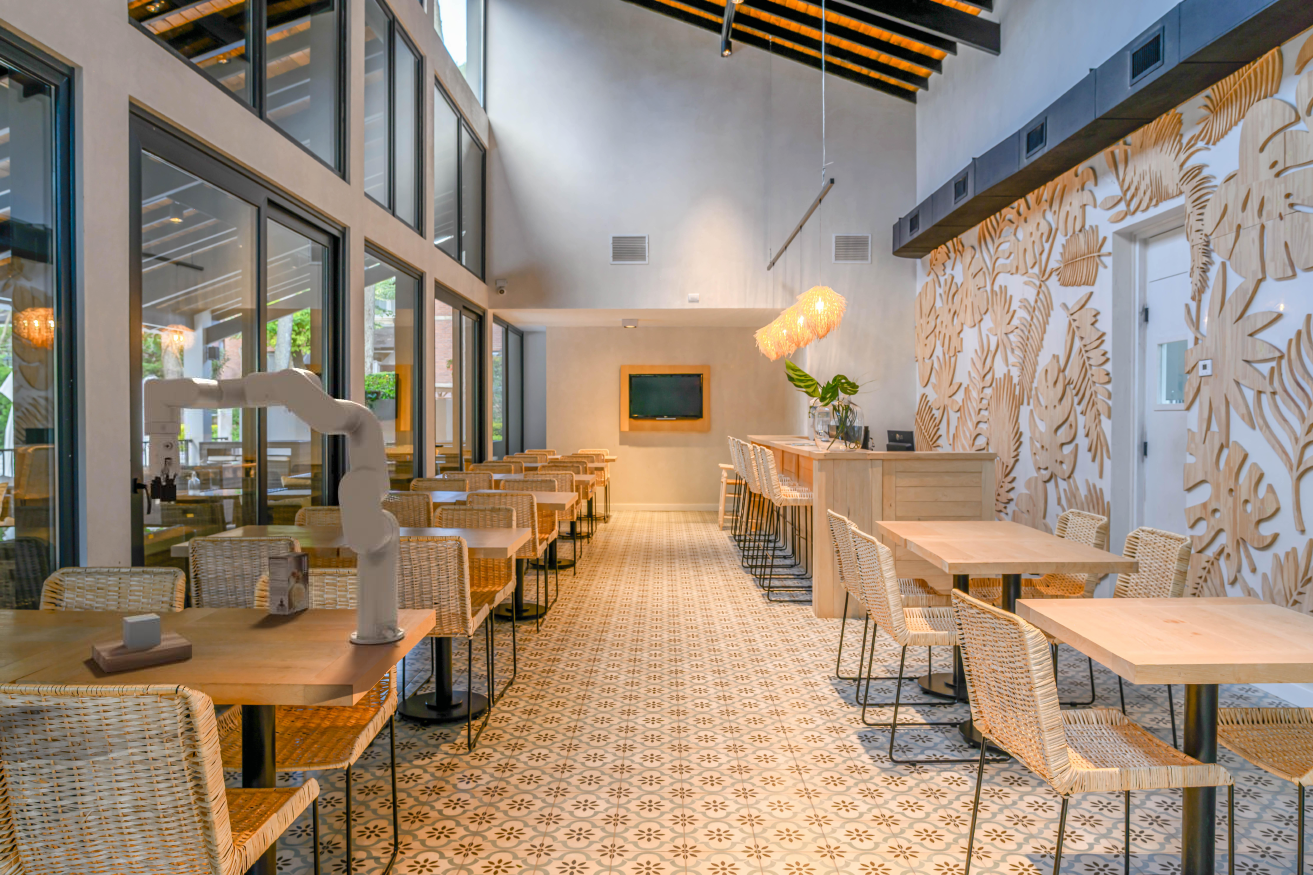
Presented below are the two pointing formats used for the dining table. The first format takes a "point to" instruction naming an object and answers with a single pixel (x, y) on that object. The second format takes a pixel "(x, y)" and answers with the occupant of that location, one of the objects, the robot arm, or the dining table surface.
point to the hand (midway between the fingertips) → (163, 500)
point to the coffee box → (288, 582)
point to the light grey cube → (141, 631)
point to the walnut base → (140, 653)
